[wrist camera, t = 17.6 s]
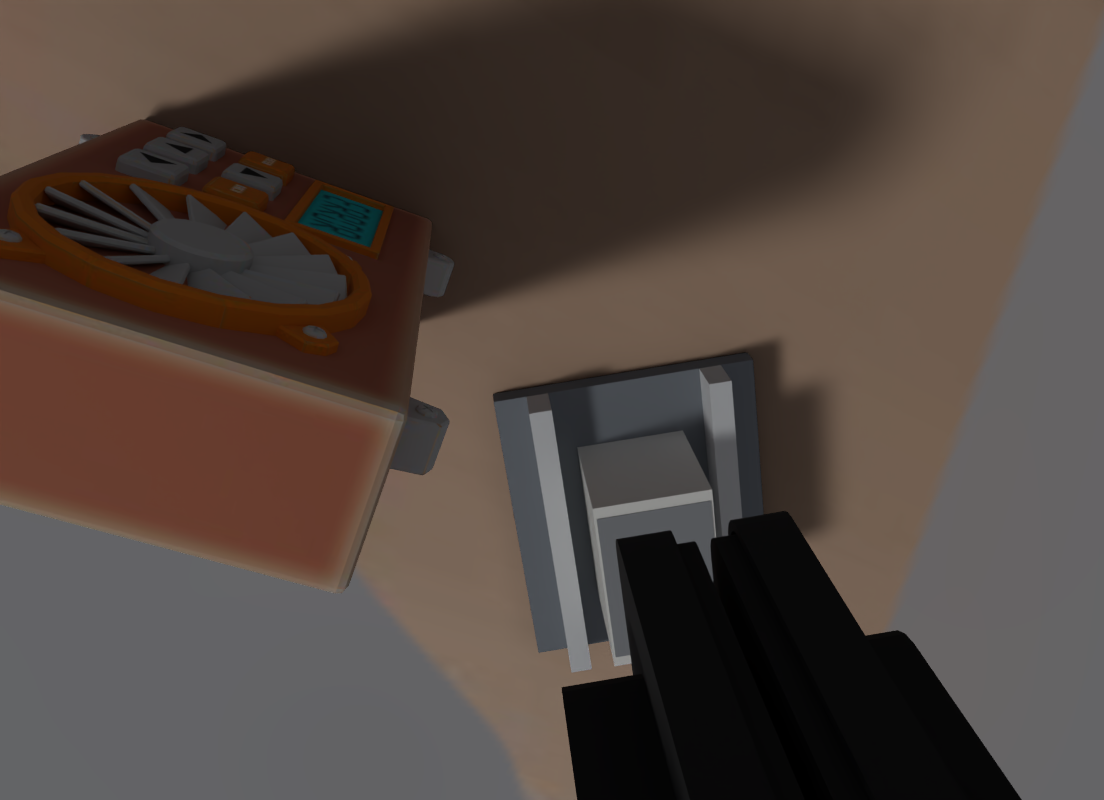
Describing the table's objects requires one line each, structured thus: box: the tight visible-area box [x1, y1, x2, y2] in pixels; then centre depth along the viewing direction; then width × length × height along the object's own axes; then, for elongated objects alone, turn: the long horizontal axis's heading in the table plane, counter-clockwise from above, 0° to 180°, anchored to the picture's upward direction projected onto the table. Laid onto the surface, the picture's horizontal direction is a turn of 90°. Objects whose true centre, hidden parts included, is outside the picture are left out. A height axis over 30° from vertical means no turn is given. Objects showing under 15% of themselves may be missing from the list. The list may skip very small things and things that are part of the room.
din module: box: [577, 430, 716, 666], centre depth 46 cm, size 8×5×6 cm, turn 8°
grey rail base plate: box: [493, 353, 764, 672], centre depth 48 cm, size 14×12×3 cm
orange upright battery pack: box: [0, 120, 454, 593], centre depth 33 cm, size 21×7×15 cm
